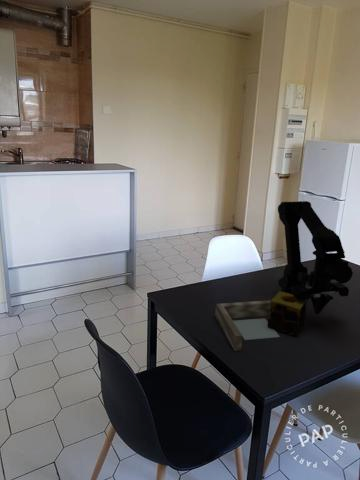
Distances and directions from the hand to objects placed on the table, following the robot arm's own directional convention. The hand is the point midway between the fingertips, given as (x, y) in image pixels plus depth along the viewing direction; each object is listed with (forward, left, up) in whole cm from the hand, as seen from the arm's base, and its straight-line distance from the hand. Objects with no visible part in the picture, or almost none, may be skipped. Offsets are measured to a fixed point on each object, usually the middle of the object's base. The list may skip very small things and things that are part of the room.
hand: (316, 313), depth 127 cm
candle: (+11, 0, -4) cm, 12 cm away
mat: (+22, 0, -4) cm, 22 cm away
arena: (+23, +1, -4) cm, 23 cm away
